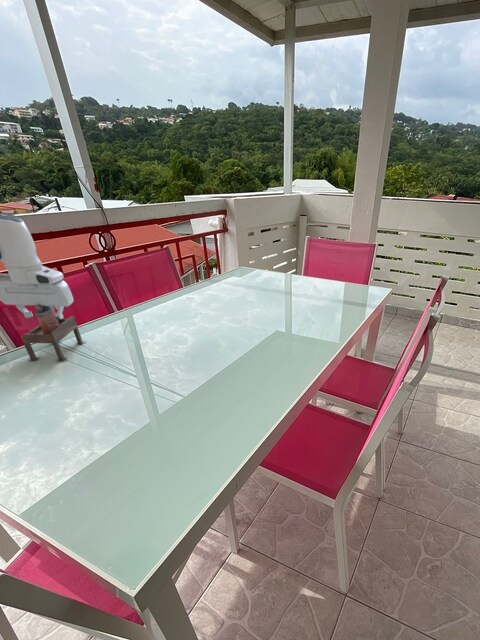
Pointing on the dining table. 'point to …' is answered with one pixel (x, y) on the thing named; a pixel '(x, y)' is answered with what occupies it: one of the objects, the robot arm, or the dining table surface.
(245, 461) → the dining table surface
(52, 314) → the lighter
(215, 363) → the dining table surface
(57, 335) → the stand
